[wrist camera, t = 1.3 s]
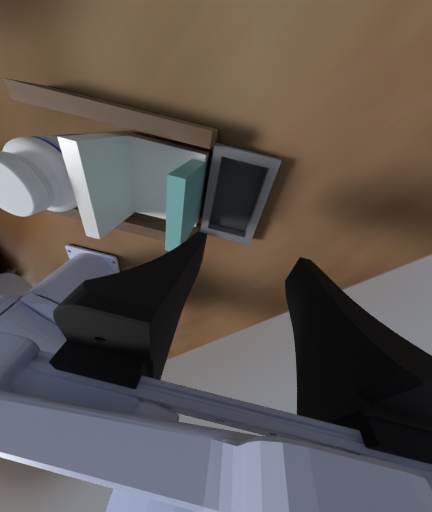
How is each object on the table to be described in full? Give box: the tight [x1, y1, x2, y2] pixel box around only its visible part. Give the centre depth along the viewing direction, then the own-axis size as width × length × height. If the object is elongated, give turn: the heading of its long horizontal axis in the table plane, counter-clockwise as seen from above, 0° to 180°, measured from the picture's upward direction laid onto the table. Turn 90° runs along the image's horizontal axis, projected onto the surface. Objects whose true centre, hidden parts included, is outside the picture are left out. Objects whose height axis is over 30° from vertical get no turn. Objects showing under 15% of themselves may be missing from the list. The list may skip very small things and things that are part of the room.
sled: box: [57, 131, 209, 251], centre depth 16 cm, size 7×8×8 cm
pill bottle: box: [0, 134, 83, 217], centre depth 16 cm, size 5×5×10 cm
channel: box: [3, 78, 219, 241], centre depth 18 cm, size 11×16×4 cm
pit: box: [200, 142, 282, 245], centre depth 19 cm, size 9×6×2 cm, turn 169°
